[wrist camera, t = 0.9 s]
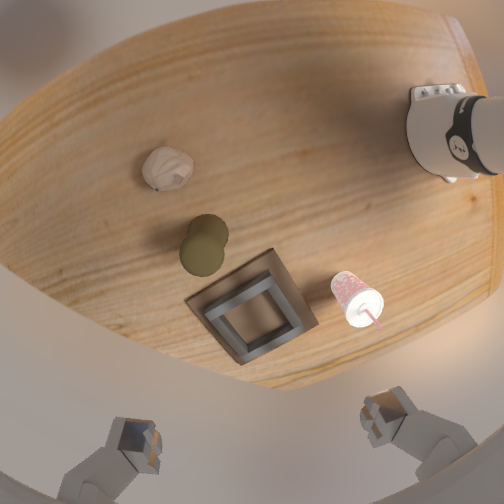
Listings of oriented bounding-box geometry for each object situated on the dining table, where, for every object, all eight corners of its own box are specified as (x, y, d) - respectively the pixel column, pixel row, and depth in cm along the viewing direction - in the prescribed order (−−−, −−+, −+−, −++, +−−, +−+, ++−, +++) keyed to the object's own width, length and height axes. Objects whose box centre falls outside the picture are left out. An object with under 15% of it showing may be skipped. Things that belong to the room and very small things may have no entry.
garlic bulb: (168, 199, 38) (153, 208, 30) (142, 166, 36) (122, 167, 29) (203, 171, 37) (196, 172, 30) (177, 137, 35) (164, 130, 28)
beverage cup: (326, 269, 43) (362, 312, 30) (360, 264, 44) (403, 302, 30) (326, 302, 45) (357, 351, 32) (358, 296, 45) (396, 341, 32)
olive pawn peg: (212, 261, 41) (207, 294, 31) (180, 238, 40) (163, 264, 29) (236, 230, 40) (239, 254, 30) (203, 205, 39) (193, 221, 28)
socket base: (273, 247, 41) (276, 255, 38) (317, 321, 46) (323, 332, 43) (187, 299, 43) (184, 310, 40) (240, 362, 48) (241, 374, 45)
